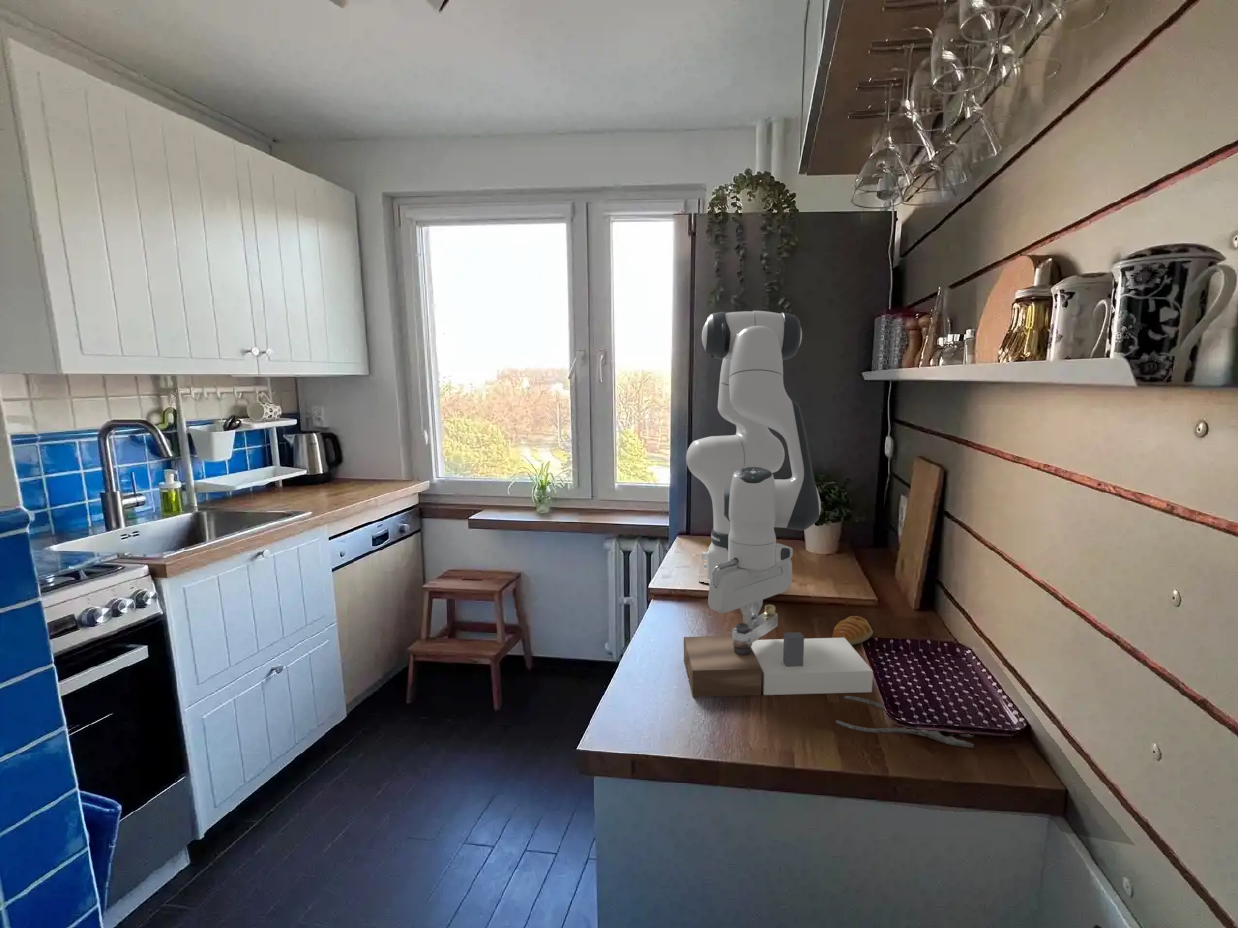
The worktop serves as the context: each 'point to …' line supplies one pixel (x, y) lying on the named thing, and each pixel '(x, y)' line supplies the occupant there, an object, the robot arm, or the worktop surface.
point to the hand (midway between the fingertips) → (750, 622)
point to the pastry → (853, 630)
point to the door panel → (811, 666)
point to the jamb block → (720, 667)
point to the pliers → (929, 734)
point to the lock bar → (755, 628)
